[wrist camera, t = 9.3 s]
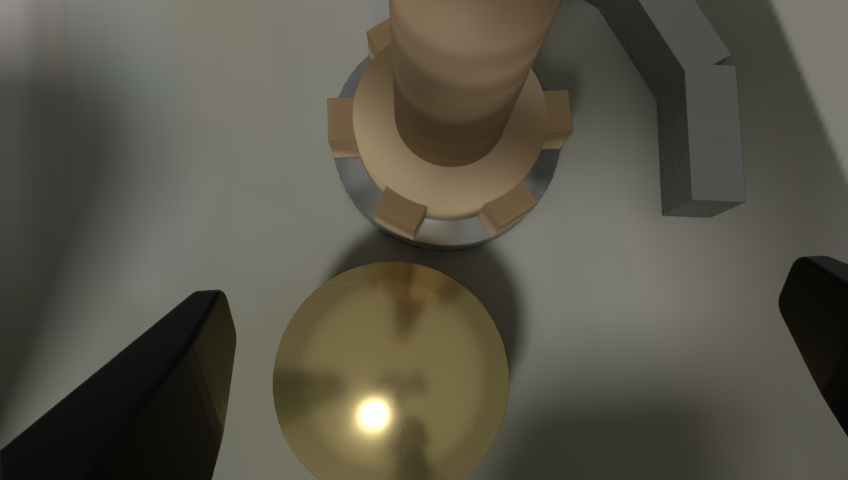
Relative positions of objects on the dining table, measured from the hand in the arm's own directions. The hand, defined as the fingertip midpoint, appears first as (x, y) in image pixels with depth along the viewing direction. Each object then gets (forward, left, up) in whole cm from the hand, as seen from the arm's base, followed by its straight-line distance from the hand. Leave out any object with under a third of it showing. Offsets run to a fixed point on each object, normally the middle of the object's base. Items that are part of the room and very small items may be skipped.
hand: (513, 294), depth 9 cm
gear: (+7, 0, -12) cm, 14 cm away
